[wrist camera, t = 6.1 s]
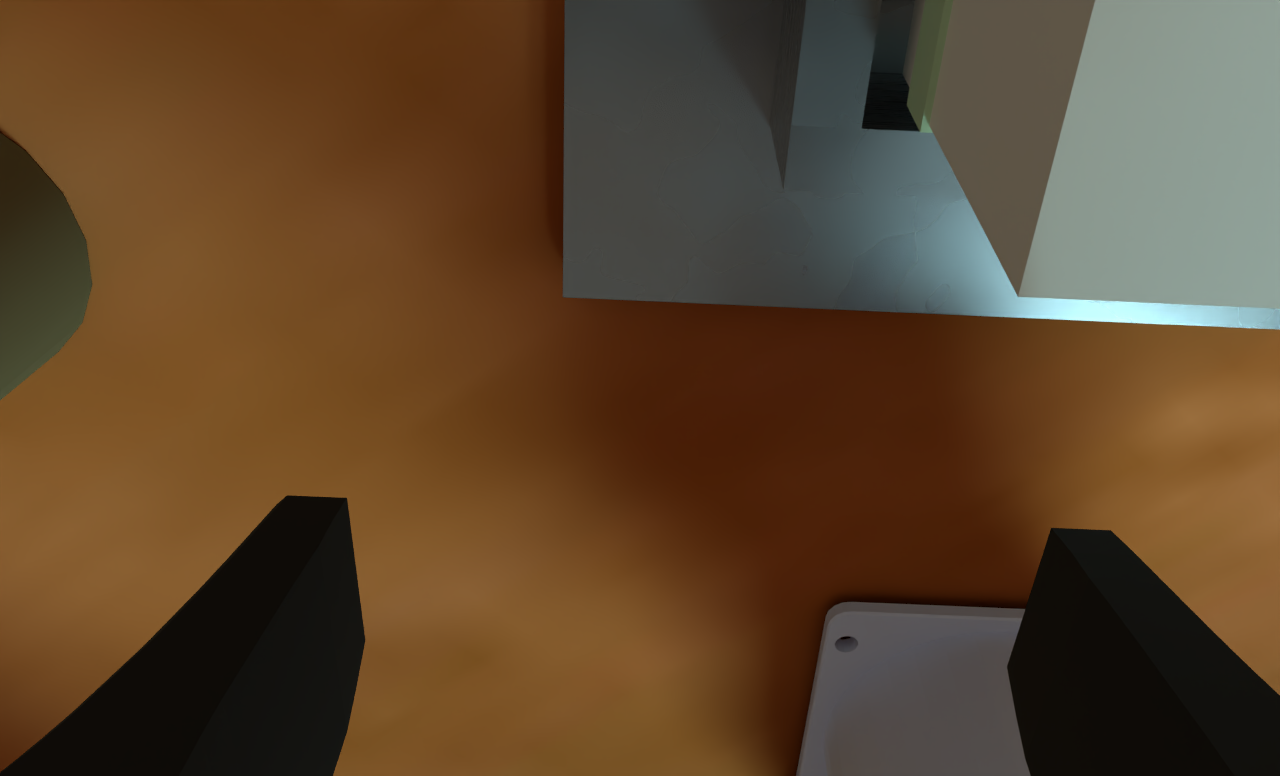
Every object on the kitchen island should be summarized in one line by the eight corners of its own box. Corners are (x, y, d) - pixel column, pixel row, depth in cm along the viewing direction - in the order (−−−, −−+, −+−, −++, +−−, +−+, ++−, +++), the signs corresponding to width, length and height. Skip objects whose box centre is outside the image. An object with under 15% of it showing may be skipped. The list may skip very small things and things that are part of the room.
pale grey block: (1182, 93, 17) (1430, 324, 11) (894, 80, 17) (1004, 305, 11) (1285, -233, 14) (1658, -137, 9) (950, -249, 14) (1125, -164, 9)
